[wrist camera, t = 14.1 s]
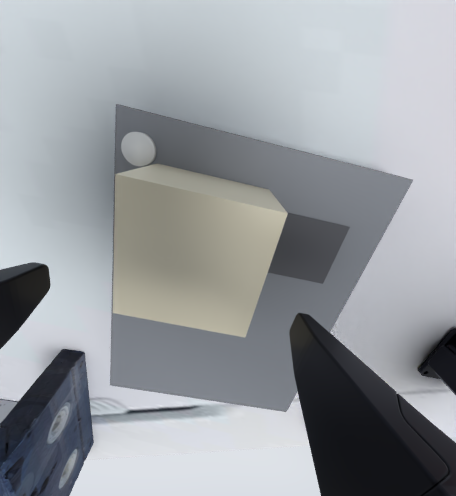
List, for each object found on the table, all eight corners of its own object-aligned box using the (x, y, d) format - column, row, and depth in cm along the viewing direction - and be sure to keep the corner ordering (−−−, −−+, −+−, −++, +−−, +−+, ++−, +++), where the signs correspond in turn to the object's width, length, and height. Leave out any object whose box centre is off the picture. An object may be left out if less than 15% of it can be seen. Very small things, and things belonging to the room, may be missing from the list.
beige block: (269, 189, 14) (287, 213, 9) (242, 282, 17) (245, 337, 12) (157, 163, 14) (115, 174, 9) (148, 263, 17) (112, 312, 12)
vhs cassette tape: (61, 346, 25) (-37, 465, 15) (90, 351, 25) (9, 470, 16) (72, 440, 32) (10, 557, 23) (94, 442, 32) (41, 559, 23)
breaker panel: (383, 173, 17) (420, 181, 14) (280, 384, 27) (287, 418, 23) (136, 111, 15) (110, 102, 12) (123, 358, 25) (107, 391, 22)
